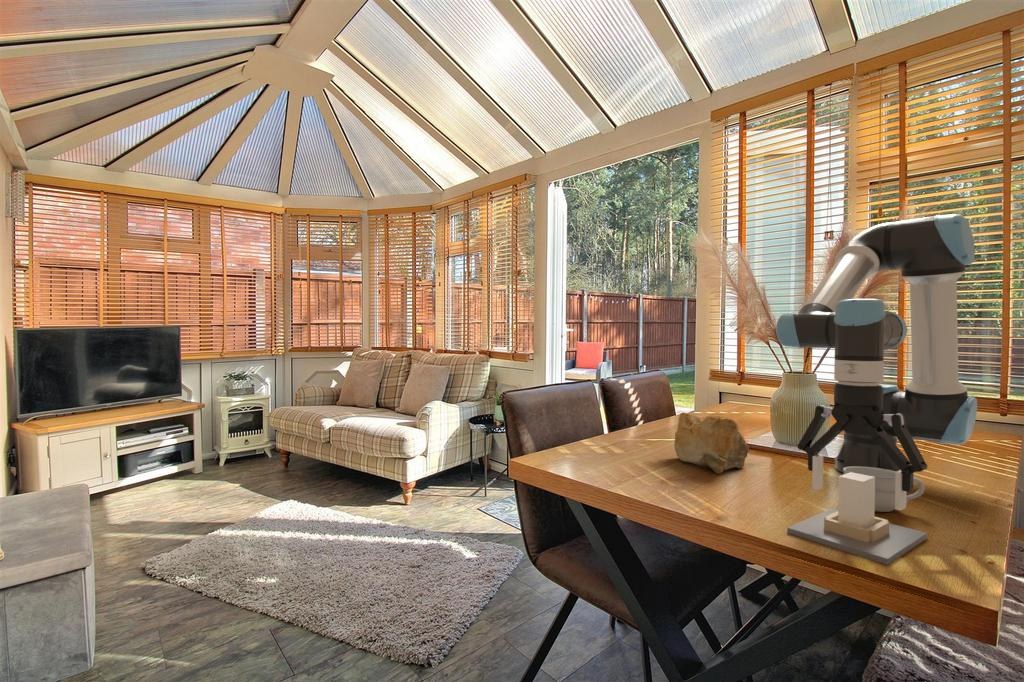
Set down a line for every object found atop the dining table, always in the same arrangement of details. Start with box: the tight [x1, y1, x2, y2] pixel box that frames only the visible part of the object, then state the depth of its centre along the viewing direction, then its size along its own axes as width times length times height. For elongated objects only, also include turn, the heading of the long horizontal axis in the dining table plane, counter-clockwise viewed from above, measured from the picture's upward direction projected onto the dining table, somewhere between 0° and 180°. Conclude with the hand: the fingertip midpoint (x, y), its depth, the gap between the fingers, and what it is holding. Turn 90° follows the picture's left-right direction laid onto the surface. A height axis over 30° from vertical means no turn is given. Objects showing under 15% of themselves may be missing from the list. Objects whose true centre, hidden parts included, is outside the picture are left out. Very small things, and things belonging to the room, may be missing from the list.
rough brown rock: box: [674, 412, 750, 475], centre depth 143 cm, size 23×17×15 cm
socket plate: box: [786, 507, 928, 566], centre depth 95 cm, size 18×16×3 cm
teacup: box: [843, 466, 925, 513], centre depth 109 cm, size 14×11×8 cm
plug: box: [837, 472, 876, 529], centre depth 95 cm, size 5×4×10 cm
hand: (856, 498), depth 95 cm, fingers open, 13 cm apart
